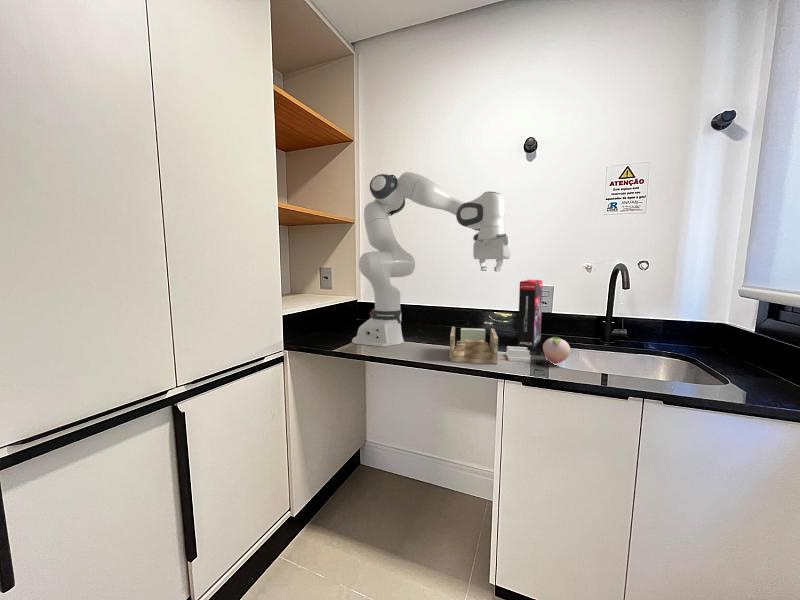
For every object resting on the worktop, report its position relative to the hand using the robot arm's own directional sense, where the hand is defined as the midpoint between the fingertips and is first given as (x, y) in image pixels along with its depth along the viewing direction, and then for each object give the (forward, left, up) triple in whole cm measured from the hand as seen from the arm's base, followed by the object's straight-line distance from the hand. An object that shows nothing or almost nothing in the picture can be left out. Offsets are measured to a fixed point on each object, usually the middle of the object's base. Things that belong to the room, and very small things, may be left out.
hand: (490, 271), depth 129 cm
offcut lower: (-6, -17, -30) cm, 35 cm away
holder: (+10, -11, -31) cm, 34 cm away
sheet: (-6, -7, -30) cm, 31 cm away
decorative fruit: (+22, -15, -31) cm, 41 cm away
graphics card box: (+18, +12, -31) cm, 38 cm away
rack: (-6, -12, -31) cm, 34 cm away
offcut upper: (-6, -17, -27) cm, 33 cm away
